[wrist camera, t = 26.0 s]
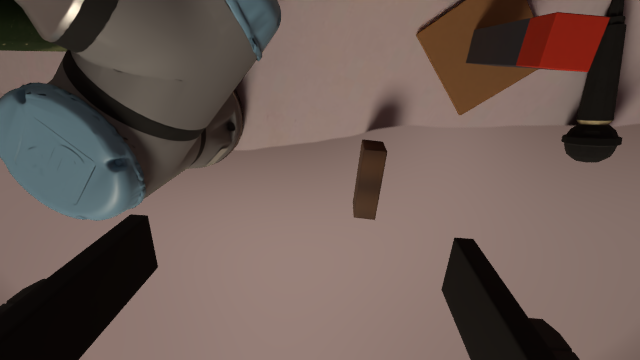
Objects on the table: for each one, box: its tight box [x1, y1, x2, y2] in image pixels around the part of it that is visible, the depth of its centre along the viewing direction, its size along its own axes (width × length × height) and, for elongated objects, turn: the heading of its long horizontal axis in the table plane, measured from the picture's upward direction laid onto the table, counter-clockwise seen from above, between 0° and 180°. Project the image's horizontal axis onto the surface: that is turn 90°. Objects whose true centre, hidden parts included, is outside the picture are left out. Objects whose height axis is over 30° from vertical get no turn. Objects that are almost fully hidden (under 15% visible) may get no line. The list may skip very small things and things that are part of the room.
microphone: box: [562, 0, 626, 162], centre depth 37 cm, size 6×6×20 cm
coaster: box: [416, 0, 538, 115], centre depth 38 cm, size 12×12×1 cm
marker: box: [466, 12, 610, 72], centre depth 31 cm, size 16×4×4 cm
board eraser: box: [353, 140, 387, 220], centre depth 44 cm, size 10×3×5 cm, turn 175°
